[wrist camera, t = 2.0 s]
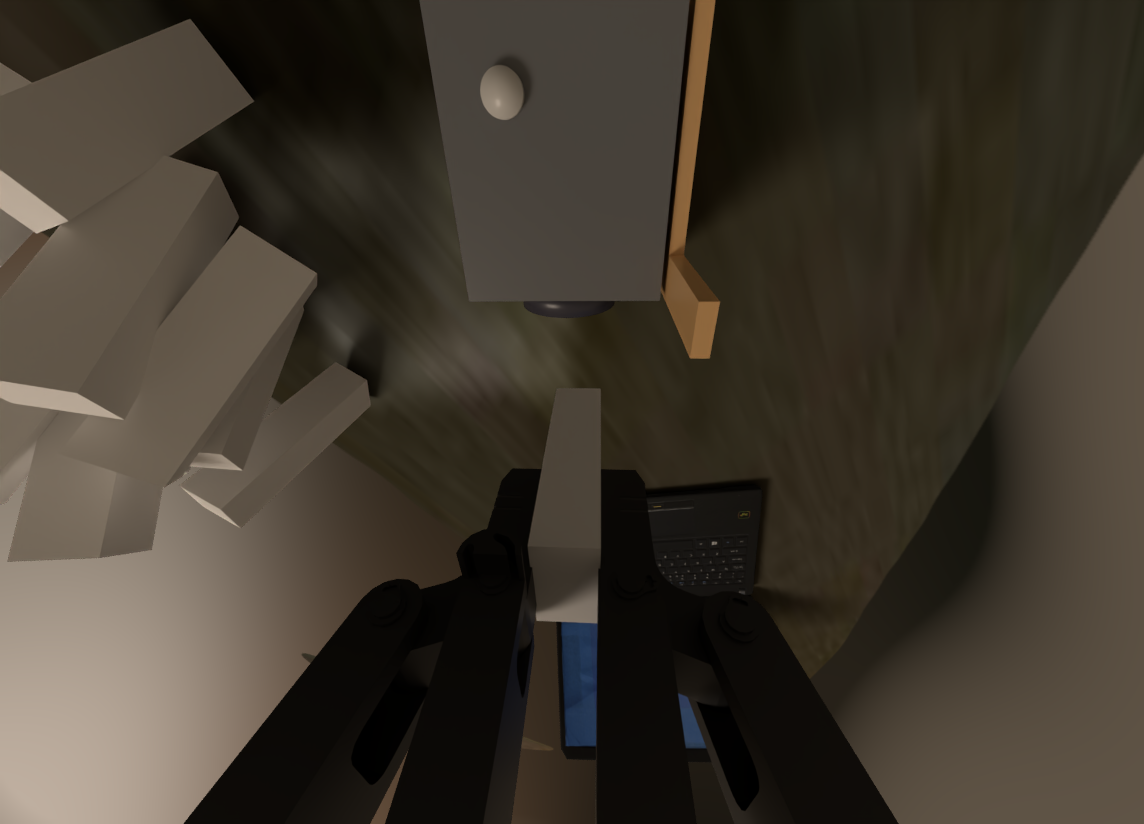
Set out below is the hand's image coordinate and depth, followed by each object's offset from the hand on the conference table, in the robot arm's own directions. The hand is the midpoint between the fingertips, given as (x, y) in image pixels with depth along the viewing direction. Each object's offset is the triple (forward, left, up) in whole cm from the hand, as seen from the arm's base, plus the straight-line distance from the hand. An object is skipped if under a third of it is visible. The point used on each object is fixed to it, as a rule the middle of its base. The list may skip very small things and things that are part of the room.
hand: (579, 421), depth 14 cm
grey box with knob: (-7, -2, -29) cm, 30 cm away
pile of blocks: (+3, -35, -30) cm, 46 cm away
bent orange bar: (-7, +6, -29) cm, 30 cm away
